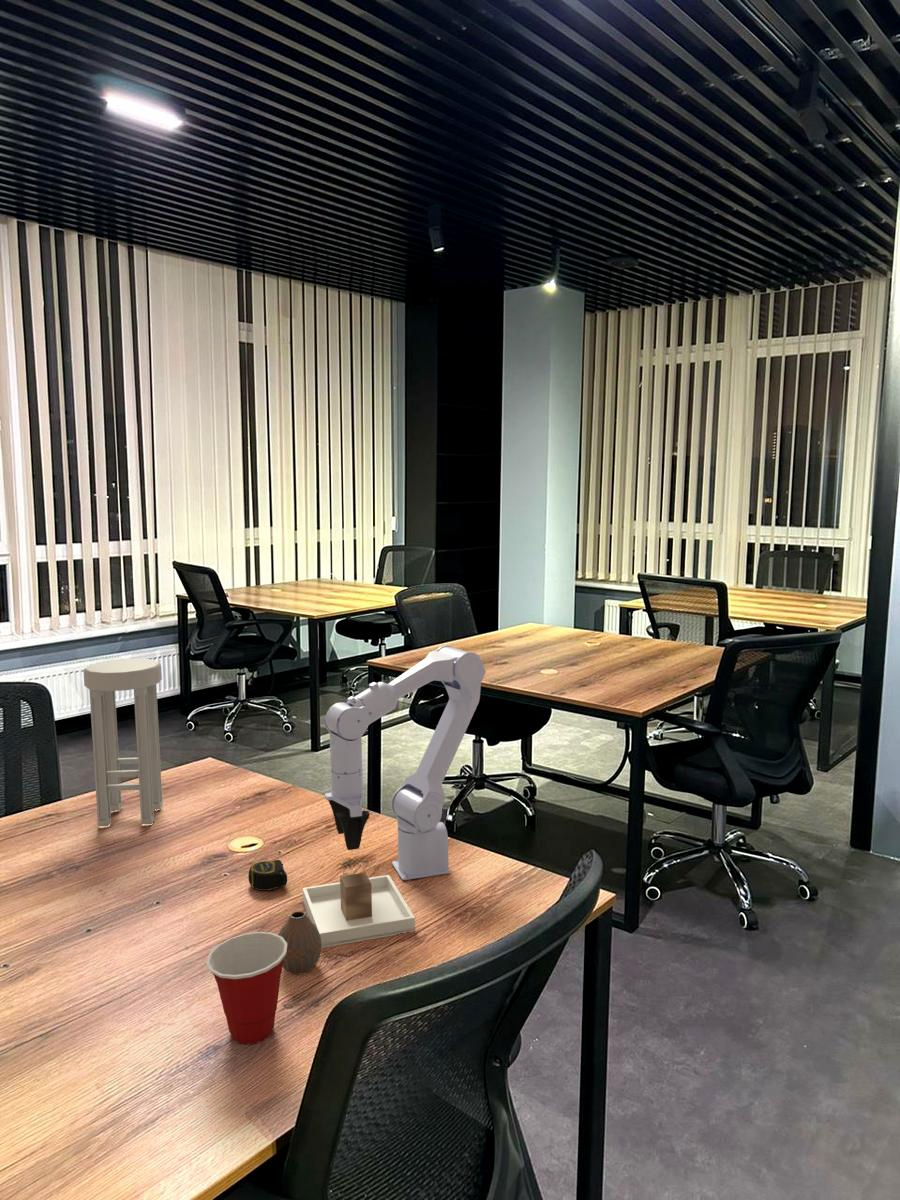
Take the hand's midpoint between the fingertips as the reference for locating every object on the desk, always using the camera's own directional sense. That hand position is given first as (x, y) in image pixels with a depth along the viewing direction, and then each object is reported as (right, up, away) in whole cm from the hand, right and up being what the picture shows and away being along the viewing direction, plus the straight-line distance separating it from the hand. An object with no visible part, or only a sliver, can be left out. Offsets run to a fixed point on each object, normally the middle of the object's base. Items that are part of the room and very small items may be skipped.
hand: (348, 840), depth 162 cm
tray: (+2, -11, -9) cm, 14 cm away
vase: (-5, -13, -25) cm, 28 cm away
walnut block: (+2, -10, -9) cm, 14 cm away
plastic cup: (-9, -15, -41) cm, 44 cm away
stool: (-53, -5, +36) cm, 65 cm away
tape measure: (-15, -9, +4) cm, 18 cm away
